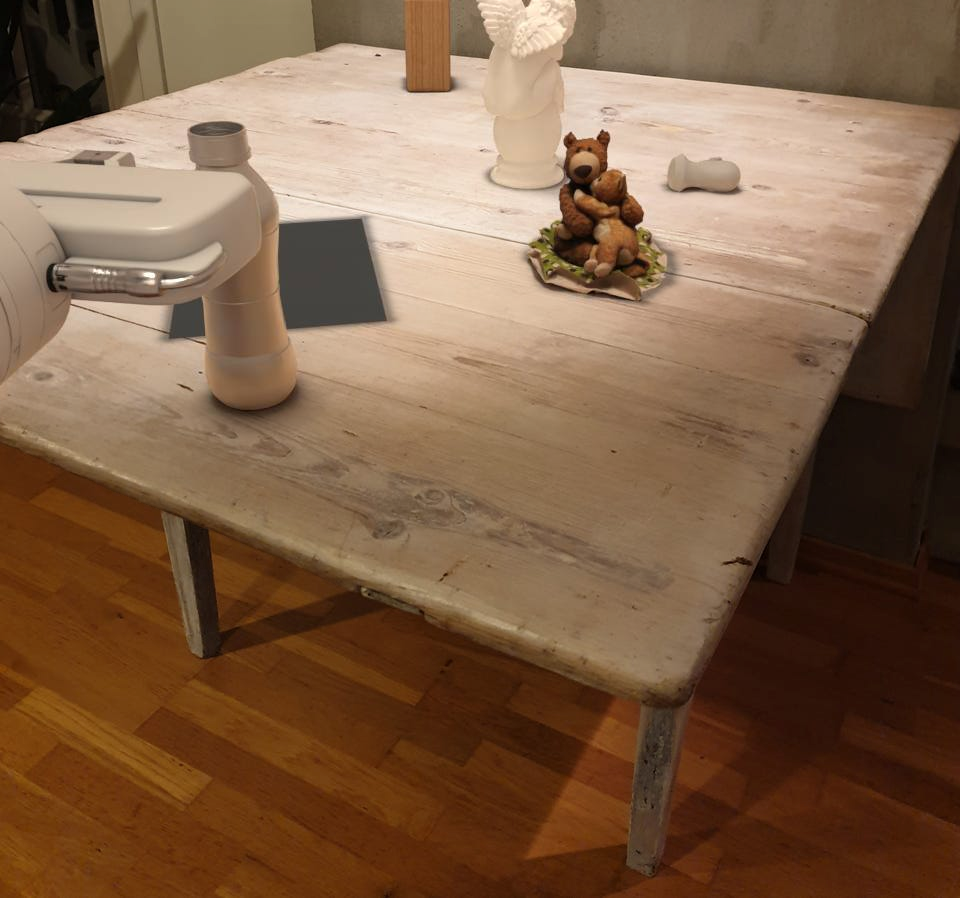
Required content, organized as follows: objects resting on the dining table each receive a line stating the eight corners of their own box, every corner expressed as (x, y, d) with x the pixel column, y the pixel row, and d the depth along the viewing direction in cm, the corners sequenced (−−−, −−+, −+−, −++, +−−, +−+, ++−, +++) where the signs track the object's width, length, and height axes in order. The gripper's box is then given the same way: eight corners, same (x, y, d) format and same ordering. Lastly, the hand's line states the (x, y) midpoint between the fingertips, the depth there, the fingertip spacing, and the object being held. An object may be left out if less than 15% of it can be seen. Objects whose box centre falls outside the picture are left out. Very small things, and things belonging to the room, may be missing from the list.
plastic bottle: (239, 370, 76) (198, 110, 65) (316, 385, 74) (288, 120, 63) (193, 411, 71) (139, 137, 60) (274, 428, 69) (235, 149, 58)
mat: (169, 344, 80) (168, 338, 79) (186, 234, 99) (185, 229, 99) (387, 325, 82) (387, 320, 82) (362, 222, 102) (361, 218, 102)
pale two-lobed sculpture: (733, 196, 112) (740, 198, 107) (663, 191, 113) (667, 193, 108) (738, 157, 111) (745, 157, 106) (668, 153, 112) (671, 152, 107)
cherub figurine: (553, 163, 118) (562, -37, 106) (601, 196, 109) (618, -19, 96) (460, 175, 114) (459, -30, 102) (502, 211, 105) (506, -11, 92)
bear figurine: (514, 297, 87) (518, 163, 80) (537, 234, 99) (541, 113, 92) (668, 310, 85) (685, 173, 78) (671, 244, 97) (686, 121, 90)
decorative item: (449, 81, 151) (447, -63, 140) (450, 92, 145) (449, -57, 134) (406, 81, 150) (401, -63, 139) (406, 92, 145) (401, -57, 134)
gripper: (179, 214, 35) (297, 112, 47) (-312, 184, 38) (-88, 94, 49) (206, 365, 39) (310, 236, 50) (-244, 327, 42) (-50, 213, 53)
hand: (110, 165), depth 50 cm, fingers closed
